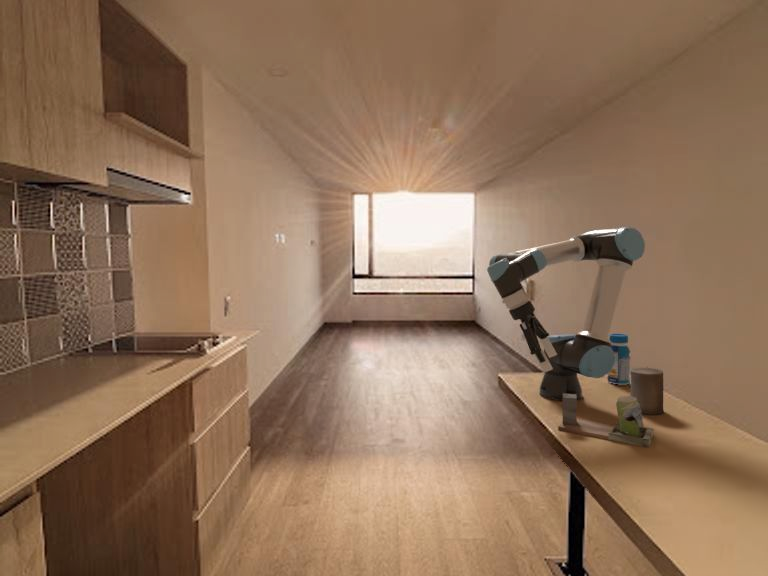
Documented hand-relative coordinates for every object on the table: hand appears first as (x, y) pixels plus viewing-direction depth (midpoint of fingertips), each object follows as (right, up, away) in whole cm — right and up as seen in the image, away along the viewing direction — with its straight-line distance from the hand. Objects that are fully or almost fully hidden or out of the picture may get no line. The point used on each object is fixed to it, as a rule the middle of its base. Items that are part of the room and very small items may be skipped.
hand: (551, 363), depth 147 cm
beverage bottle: (+43, -15, +42) cm, 62 cm away
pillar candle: (+35, -17, +8) cm, 40 cm away
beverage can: (+17, -19, -15) cm, 30 cm away
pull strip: (+12, -19, -11) cm, 25 cm away
